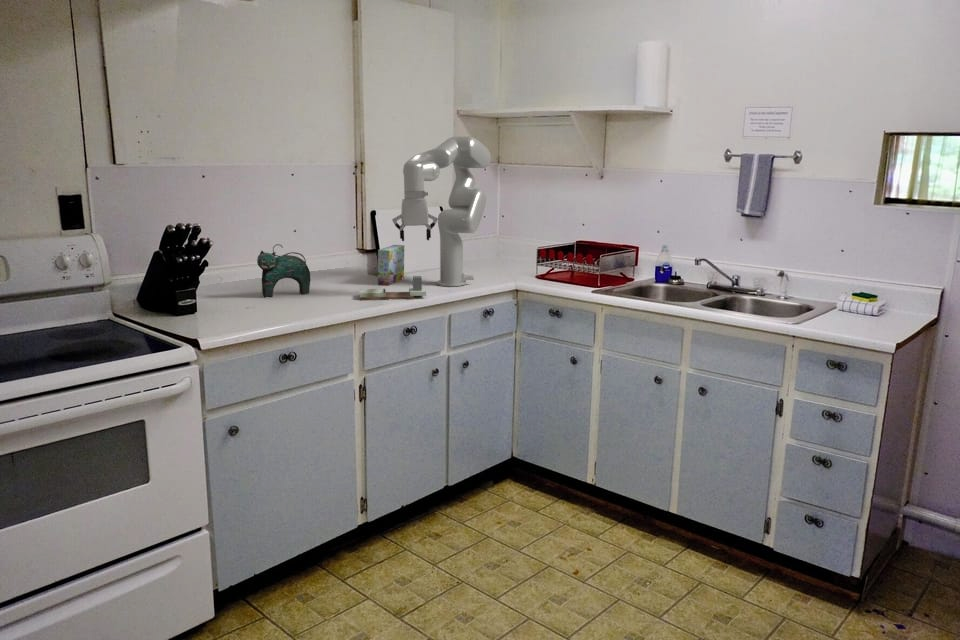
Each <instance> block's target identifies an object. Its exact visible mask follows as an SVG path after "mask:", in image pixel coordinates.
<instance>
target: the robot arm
mask: <svg viewBox="0 0 960 640" xmlns="http://www.w3.org/2000/svg"><path fill="white" fill-rule="evenodd" d="M491 161H492V156H491V153H490V150H489V148H488V147H487V146H485V145H484V143H482V142H481V141H479V140H478V138H475V137H474V136H452V137H448V138H447V139H446V140H445V141H444V142H442V143H441V144H439V145H438V146H436V147H435V148H432V149H429V150H426V151H423V152H421V153H418V154H416V155H414V156H412V157H410V159H408V160H407V161H406V162H405V163H404V164H403V168H402V173H403V189H404V191H403V193H404V194H403V195H404V197H403V199H402V202H401V214H399V215H397V216H395V217H394V218H392V223H393V225H394V226H395V228H397V229H398V231H399V239H401V241H402V242H405V231H404V229H405V227H408V226H410V227H411V226H418V227H419V226H425V228H426V240H427V241H430V239H431V238H432V237H431V235H432V234H431V232H432V229H433V228H434V227H435V225H436V224H437V225H438V227H437V228H438V230H439V232H438V233H439V244H440V246H439V248H440V249H439V250H440V251H439V253H440V254H439V256H440V257H439V261H440V262H439V263H440V264H439V266H440V267H439V274H440V276H439V278H440V279H439V280H437V281H436V285H438V286H442V287H462V285H463V286H466V285H467V281H473V280H474V275H469V274H468V275H466V274H464V273H463V270H464V269H463V267H464V266H463V263H464V262H463V261H464V260H463V258H464V257H463V255H464V254H463V251H464V250H463V247H464V246H463V245H464V244H463V243H464V242H463V240H462V237H461V236H460V234H474V233H475V232H476V231H477V230H478V228H479V225H480V222H481V219H482V216H483V213H484V211H485V208H486V201H487V198H486V194H485V192H484V190H482V189H480V188H475V185H476V184H475V183H476V180H475V177H474V175H473V173H472V172H471V171H470V169H485V168H487V167H489V165H490V163H491ZM451 164H453V169H454V173H455V178H454V179H455V180H454V182H453V186H452V189H451V191H450V194H449V197H448V206H449V208H450V209H449V208H448V209H444V210H442V211H440V212H439V214H438V216H434V215H432V214H429V209H428V201H427V199H426V198H425V197H427V196H429V193H428V191H425V182H433V181H436V180H437V179H438V178H439V176H440V174H441V173H440V172H441V171H440V169H441V170H442V169H444V168H446V167H447V168H448V167H449V166H450V165H451ZM429 219H431V220H432V222H431V223H430V224H429ZM399 220H401V225H400V224H399V223H398V221H399Z"/></svg>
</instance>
